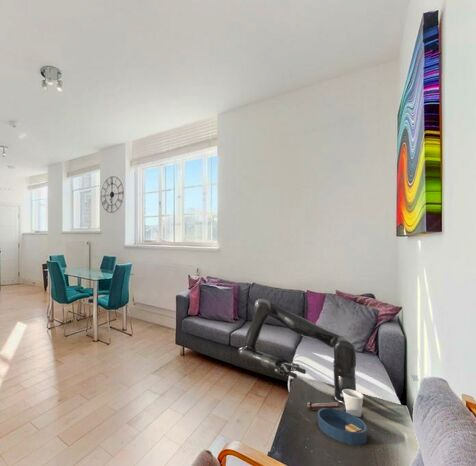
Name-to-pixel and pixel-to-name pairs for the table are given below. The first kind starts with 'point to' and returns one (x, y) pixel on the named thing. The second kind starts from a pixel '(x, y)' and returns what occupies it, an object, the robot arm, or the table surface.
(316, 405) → the cylinder
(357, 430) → the wooden block
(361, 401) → the dixie cup
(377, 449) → the table surface
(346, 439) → the bowl
